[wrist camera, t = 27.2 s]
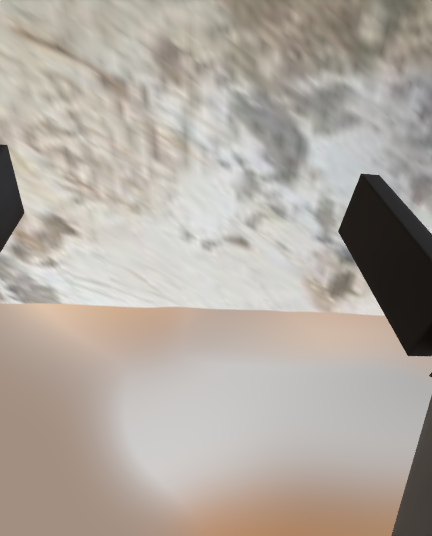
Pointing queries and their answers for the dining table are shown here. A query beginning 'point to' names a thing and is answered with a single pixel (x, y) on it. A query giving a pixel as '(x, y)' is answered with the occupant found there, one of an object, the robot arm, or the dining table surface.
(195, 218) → the dining table surface
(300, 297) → the dining table surface
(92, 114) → the dining table surface
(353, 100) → the dining table surface
